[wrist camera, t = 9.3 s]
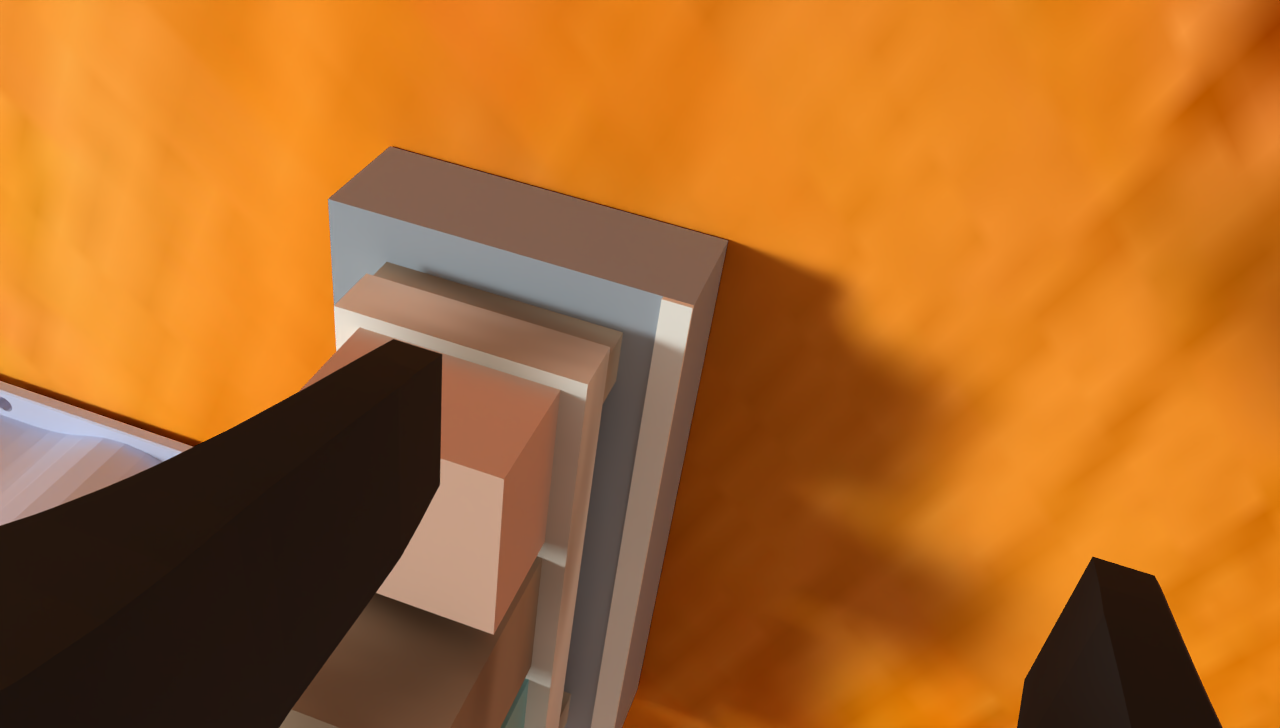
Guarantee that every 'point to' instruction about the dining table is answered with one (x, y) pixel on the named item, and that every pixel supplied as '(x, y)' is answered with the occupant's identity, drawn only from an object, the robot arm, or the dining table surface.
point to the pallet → (569, 441)
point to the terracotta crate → (476, 490)
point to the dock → (590, 291)
